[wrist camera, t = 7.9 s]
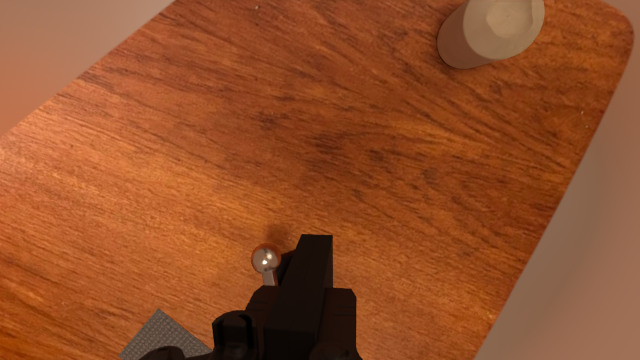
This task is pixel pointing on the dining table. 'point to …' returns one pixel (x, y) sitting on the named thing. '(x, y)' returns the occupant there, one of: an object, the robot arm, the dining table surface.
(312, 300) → the robot arm
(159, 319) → the architectural model
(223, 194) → the dining table surface
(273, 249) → the lever
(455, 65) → the candle
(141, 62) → the dining table surface
